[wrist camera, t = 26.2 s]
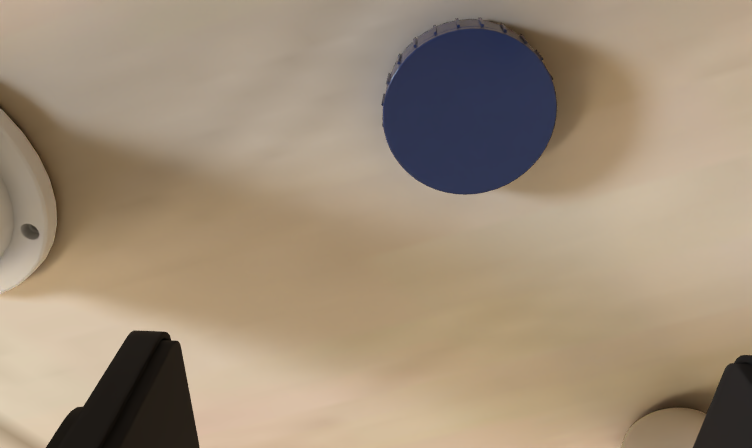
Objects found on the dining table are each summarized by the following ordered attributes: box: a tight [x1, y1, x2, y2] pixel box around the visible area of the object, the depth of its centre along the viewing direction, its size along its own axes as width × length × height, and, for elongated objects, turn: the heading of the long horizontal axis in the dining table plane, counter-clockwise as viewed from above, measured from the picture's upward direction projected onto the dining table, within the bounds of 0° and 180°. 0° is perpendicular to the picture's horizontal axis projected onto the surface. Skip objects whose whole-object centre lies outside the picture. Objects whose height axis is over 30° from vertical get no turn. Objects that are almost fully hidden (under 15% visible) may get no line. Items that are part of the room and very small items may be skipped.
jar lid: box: [382, 18, 557, 194], centre depth 24 cm, size 7×7×2 cm
